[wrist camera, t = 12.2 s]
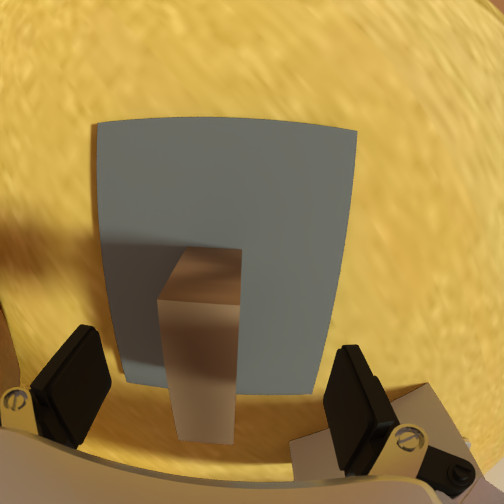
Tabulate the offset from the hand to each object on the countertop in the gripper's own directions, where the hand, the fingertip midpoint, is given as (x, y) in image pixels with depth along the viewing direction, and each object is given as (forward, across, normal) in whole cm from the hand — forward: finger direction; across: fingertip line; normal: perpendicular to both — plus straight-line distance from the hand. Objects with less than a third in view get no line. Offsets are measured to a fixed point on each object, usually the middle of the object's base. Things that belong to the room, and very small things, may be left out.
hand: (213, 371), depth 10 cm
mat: (+7, +1, -1) cm, 8 cm away
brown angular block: (+7, +1, +2) cm, 7 cm away
